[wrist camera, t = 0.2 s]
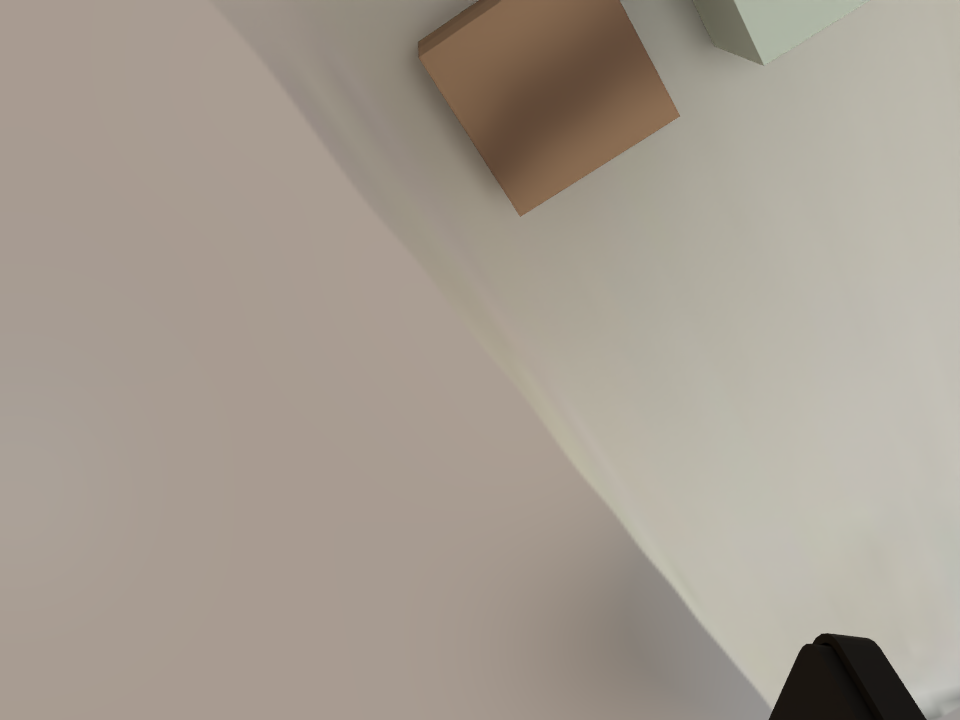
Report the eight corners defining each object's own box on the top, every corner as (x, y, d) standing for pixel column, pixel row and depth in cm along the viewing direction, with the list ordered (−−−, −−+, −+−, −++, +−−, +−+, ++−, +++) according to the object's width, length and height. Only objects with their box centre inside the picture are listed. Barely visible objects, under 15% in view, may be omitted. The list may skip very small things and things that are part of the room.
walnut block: (418, 41, 37) (418, 57, 32) (566, -61, 36) (588, -59, 31) (508, 183, 40) (520, 216, 35) (649, 93, 38) (679, 116, 34)
